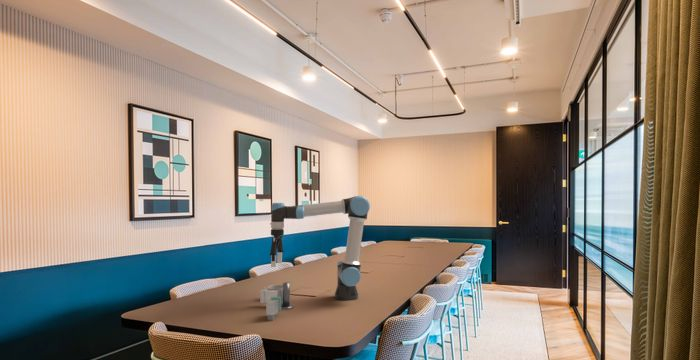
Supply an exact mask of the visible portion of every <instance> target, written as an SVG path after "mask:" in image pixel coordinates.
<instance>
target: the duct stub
mask: <svg viewBox="0 0 700 360" xmlns="http://www.w3.org/2000/svg"><path fill="white" fill-rule="evenodd" d="M265 304H266V305H265V308H266V309H265V310H266V313H265V315H266V316H267V321H272V322H273V321H275V320H276V314H277V313H278V312H281V311H282V309H281V297H271V300H270V301H268V302H265Z"/></svg>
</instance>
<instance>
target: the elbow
mask: <svg viewBox="0 0 700 360" xmlns="http://www.w3.org/2000/svg"><path fill="white" fill-rule="evenodd" d="M259 295H260V298H259V299H260V300H259V302H260V303H261V304H262V303H263V304H264V303H265V304H266V303H267V302H268V301H270V300H271V297H281V306H282V305H283V289H279V290H278V291H275V290H268V289H263V288H262V289H260V293H259Z"/></svg>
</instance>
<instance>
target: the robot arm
mask: <svg viewBox="0 0 700 360" xmlns="http://www.w3.org/2000/svg"><path fill="white" fill-rule="evenodd" d="M370 208H371V204H370V201H369V199H368V198H366V197H365V196H363V195H354V196H352V197H348V198H342V199H341V200H338V201H328V202H319V203H318V202H317V203H309V204H302V205H301V204H300V205H289V206H288V205H287V206H286V205H285V203H283V202H272V204H271V211H270V215H271V217H270V224H269V225H270V228H271V229H270V236H272V238H271V246H270V251H269V252H270V253H269V256H271V257H270V258H271V259H270V260H271V261H270V267H271V268H277V264H282V263H283V253H284V247H283V236H284V235H285V231H284V229H285V219H286V220H289V219H290V220H303V219H304V218H305V217H313V216H314V217H315V216H322V215H323V216H325V215H333V214H335V215H336V214H341V213H342V214H343V215H346V214H348V215H347V216H348V219H349V226H348V231H347V241H346V247H345V253H344V254H345V255H344V259H343V260H339V261H337V265H336V266H337V268H336V269H337V272H336V274H337V276H336V277H337V279H336V280H337V285H336V289H335V291H334V299H337V300H341V301H352V300H356V299H359V292H358V289H357V285H358V284H359V282H361V266H362V265H361V262H360V253H361V245H362V239H363V233H364V225H365V224H364V223H365V221H367V219H368V213H369V211H370Z"/></svg>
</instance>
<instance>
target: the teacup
mask: <svg viewBox="0 0 700 360" xmlns="http://www.w3.org/2000/svg"><path fill="white" fill-rule="evenodd" d="M262 289H268V290H275V291H278V290H279V289H283V284H271V285H268V286H264V287H263V288H262Z"/></svg>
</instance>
